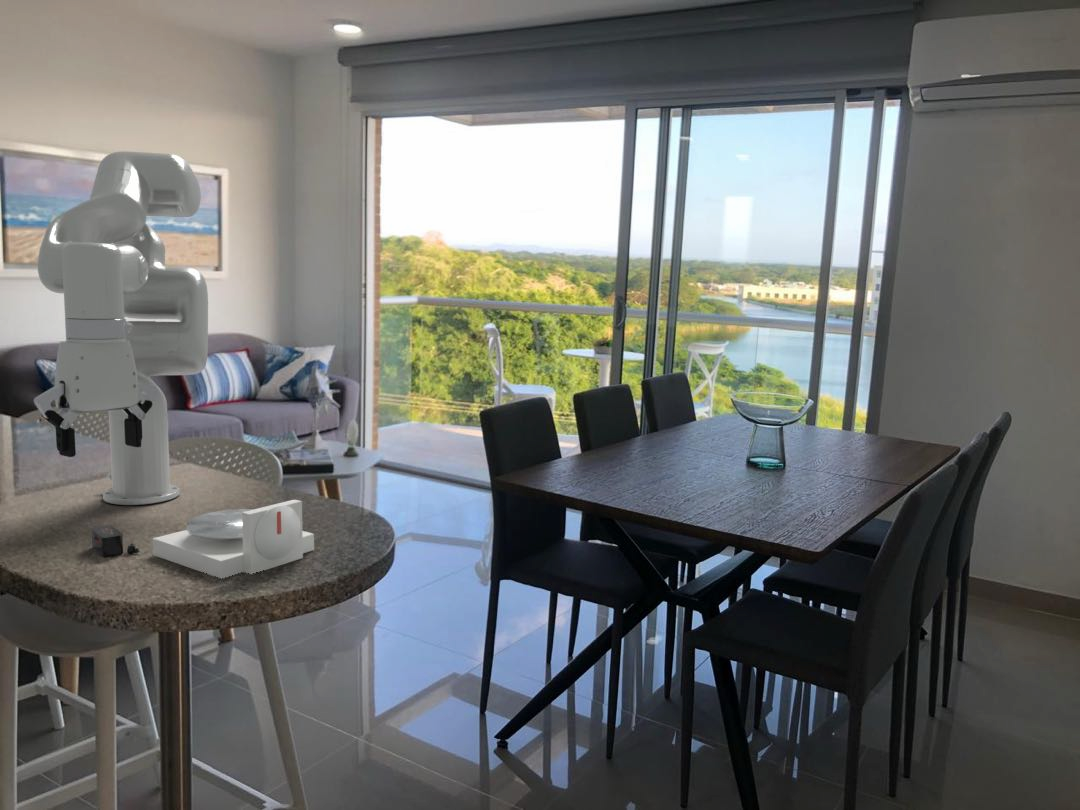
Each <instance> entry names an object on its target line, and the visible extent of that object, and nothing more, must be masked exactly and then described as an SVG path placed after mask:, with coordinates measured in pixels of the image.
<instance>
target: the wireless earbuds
mask: <svg viewBox="0 0 1080 810" xmlns="http://www.w3.org/2000/svg"><path fill="white" fill-rule="evenodd" d="M90 530H91V531H90V533H91V547H92V549H93V550H94V551H96V552H97V553H98V554H99V555H100V556H102V557H103V558H104V559H109V558H113V557H115V558H116V557H118V556H119V557H120V556H122V555H123V554H124V540H123V537H124V536H123V533H122V532H120V531H119V530H118V529H116V528H115V527H114V526H113V525H111V524H110V525H109V524H108V525H107V524H106V525H101V526H100V525H98V526H94V527H91V528H90ZM140 552H141V551H140V549H139V548H138V547H136V544H135V543H129V544H128V545H127V547H126V553H127V554H128V555H135V554H138V553H140Z"/></svg>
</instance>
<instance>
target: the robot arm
mask: <svg viewBox="0 0 1080 810" xmlns="http://www.w3.org/2000/svg"><path fill="white" fill-rule="evenodd" d="M200 205H201V188H200V184H199V181H198V178H197V176H196V174H195V172H194V170H193V169H192V168H191V165H190V164H189V163H188V162H187V161H186V160H185V159H184V158H182V157H180V156H179V155H176V154H173V153H163V152H161V153H160V152H142V151H129V150H127V151H115V152H111V153H109V154H107V155H106V156H104V157H103V158H102V159H101V161H100V163H99V165H98V168H97V171H96V175H95V178H94V182H93V186H92V189H91V194H90V196H89V199H87V200H86V201H84V202H81V203H79V204H77V205H75V206H73V207H72V208H70V209H68V210H66V211H65V212H62V213H61V214H59V215H58V216H57V217H55V218H54V219H53V220H52V221H51V222H50V223H49V224H48V226H47V228H46V230H45V233H44V236H43V239H42V242H41V245H40V248H39V253H38V257H37V273H38V277H39V280H40V282H41V284H42V285H43V286H44V287H45V288H46V289H47V290H48V291H50V292H53V293H56V294H63V302H64V323H65V324H64V325H65V327H64V328H65V341H59V345H58V348H57V353H56V354H57V355H56V362H55V372H54V373H55V375H54V386H52V387H51V388H49V389H47V390H46V391H44V392H42V393H41V394H39V395H37V396H36V397H35V398H33V403H34V406H36V408H37V409H38V411H39V412H40V414H41V417H42V418H43V419H45V420H46V421H47V422H49V424H51V426H52V427H54V428H55V439H56V440H55V441H56V442H55V443H56V450H57V451H58V453H59V455H60V456H64V457H67V458H72V457H73V458H74V457H75V456H76V437H75V436H76V434H75V429H74V428H72V427H71V425H72V424H73V423H74V421H75V420H76V419H77V418H78V416H79V414H93V413H94V414H95V413H101V412H102V413H103V412H108V426H109V427H108V430H109V445H110V446H109V447H110V448H109V451H110V467H111V468H110V469H111V470H110V471H109V472H108V473H107V474H106V479H107V480H108V481H111V487H110V488H107V489H105V491H103V493H102V500H103V501H104V502H105V503H108V504H112V505H117V506H118V505H119V506H120V505H121V506H139V505H140V506H141V505H151V504H157V503H162V502H166V501H170V500H173V499H175V498H177V497H178V496H180V487H179V486H178V485H176V484H173V483H171V481H170V480H171V477H170V475H171V474H170V453H169V451H170V448H169V447H170V446H169V425H168V424H169V423H168V402H167V398H166V396H165V393H164V392H163V391H162V389H161V388H160V387H159V386H158V385H157V384H156V382H154V380H153V379H152V378H151V377H155V376H191V375H192V376H193V375H197V374H199V373H202V372H203V371H204V369H205V368H206V365H207V361H208V355H209V354H208V353H209V352H208V350H209V349H208V348H209V344H208V343H209V342H208V341H209V298H208V297H209V293H208V286H207V285H208V284H207V282H206V279H205V277H204V275H203V274H202V272H200V271H199V270H197V269H196V268H192V267H187V266H186V267H185V266H165V265H166V246H165V243H164V241H163V240H162V238H161V237H160V236H159V235H158V233H157V232H156V231H155V230H154V229H153V228H152V227H151V226H150V225H149V224H147V216H148V217H163V218H165V217H166V218H167V217H168V218H169V217H171V218H190V217H193V216H194V215H195V214H197V212H198V210H199V208H200ZM126 318H128V319H136V320H126ZM141 320H142V321H141ZM150 320H151V321H150ZM155 320H177V321H155ZM53 401H54V404H55V407H56V408H57V409H58V411H57V412H56V411H55V410H54V409H53V407H52V402H53Z"/></svg>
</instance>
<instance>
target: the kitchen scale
mask: <svg viewBox="0 0 1080 810" xmlns="http://www.w3.org/2000/svg"><path fill="white" fill-rule="evenodd" d="M185 528H186V529H185V530H181V531H177V532H172V533H170V534H169V533H168V534H164V535H162V536H157V537H153V538H152V551H153V553H152V555H153V556H155V557H158V558H161V559H163V560H167V561H170V562H172V563H175V564H178V565H180V566H182V567H183V566H184V567H187V568H190V569H192V570H195V571H197V572H201V573H203V572H204V574H206V573H207V574H206V575H209V576H211V577H215V576H216V577H215V578H217V577H218V579H220V578H221V580H223V579H226V578H229V576H230V577H233V576H235V574H236V575H239V574H241V572H242V573H245V572H246V573H245V574H248V573H249V574H248V575H254V574H256V572H258V573H260V571H261V572H263V570H264V571H267V570H269V569H273V568H277V567H279V566H283V565H286V564H289V563H291V562H296V561H298V560H301V559H303V558H304V554H307V553H309V552H312V551H315V534H314V533H312V532H308V531H306V530H305V531H304V530H303V501H302V500H298V499H291V500H286V501H282V502H278V503H275V504H274V503H273V504H270V505H267V506H262V507H258V508H255V509H253V508H237V509H223V510H217V511H210V512H207V513H203V514H200V515H197V516H195V517H192V518H190V519H189V520H188V521H187V522H186V527H185ZM238 573H239V574H238ZM253 573H254V574H253ZM232 575H233V576H232ZM225 577H226V578H225ZM222 578H223V579H222Z"/></svg>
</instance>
